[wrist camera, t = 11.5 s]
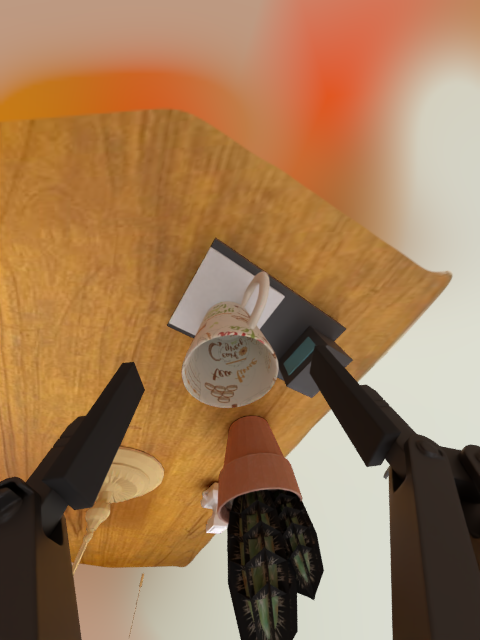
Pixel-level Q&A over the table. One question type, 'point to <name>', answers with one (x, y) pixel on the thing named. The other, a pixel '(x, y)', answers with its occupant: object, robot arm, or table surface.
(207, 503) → the stamp
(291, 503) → the potted plant
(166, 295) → the table surface
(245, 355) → the mug
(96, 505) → the desk lamp
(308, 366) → the scale
